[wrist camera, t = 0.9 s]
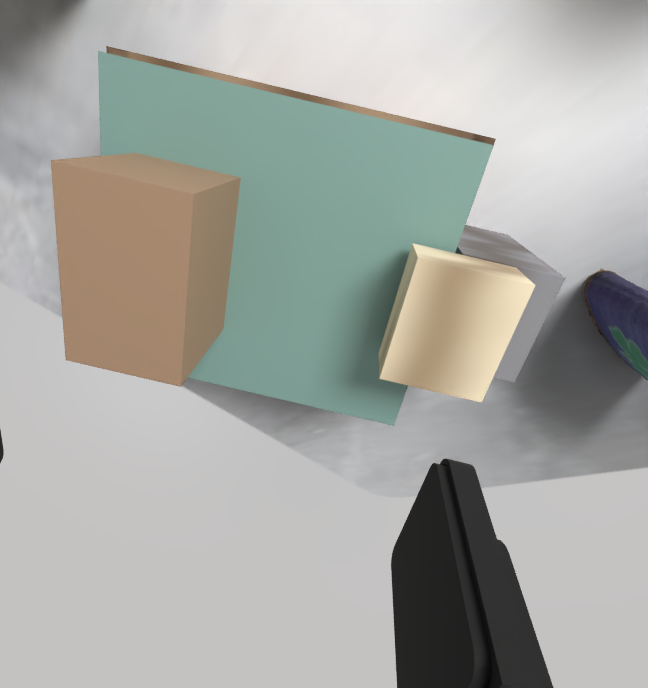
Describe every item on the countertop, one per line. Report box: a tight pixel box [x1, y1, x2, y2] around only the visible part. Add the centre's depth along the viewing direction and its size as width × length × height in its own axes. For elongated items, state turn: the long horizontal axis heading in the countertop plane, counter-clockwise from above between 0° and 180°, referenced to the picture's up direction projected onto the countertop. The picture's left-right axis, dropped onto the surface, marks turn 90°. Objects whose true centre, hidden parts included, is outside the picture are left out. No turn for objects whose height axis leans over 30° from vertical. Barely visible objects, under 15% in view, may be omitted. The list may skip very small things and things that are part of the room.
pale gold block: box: [379, 243, 535, 403], centre depth 20 cm, size 5×6×3 cm
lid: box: [51, 51, 494, 426], centre depth 20 cm, size 17×15×7 cm
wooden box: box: [107, 46, 565, 383], centre depth 26 cm, size 23×16×10 cm
